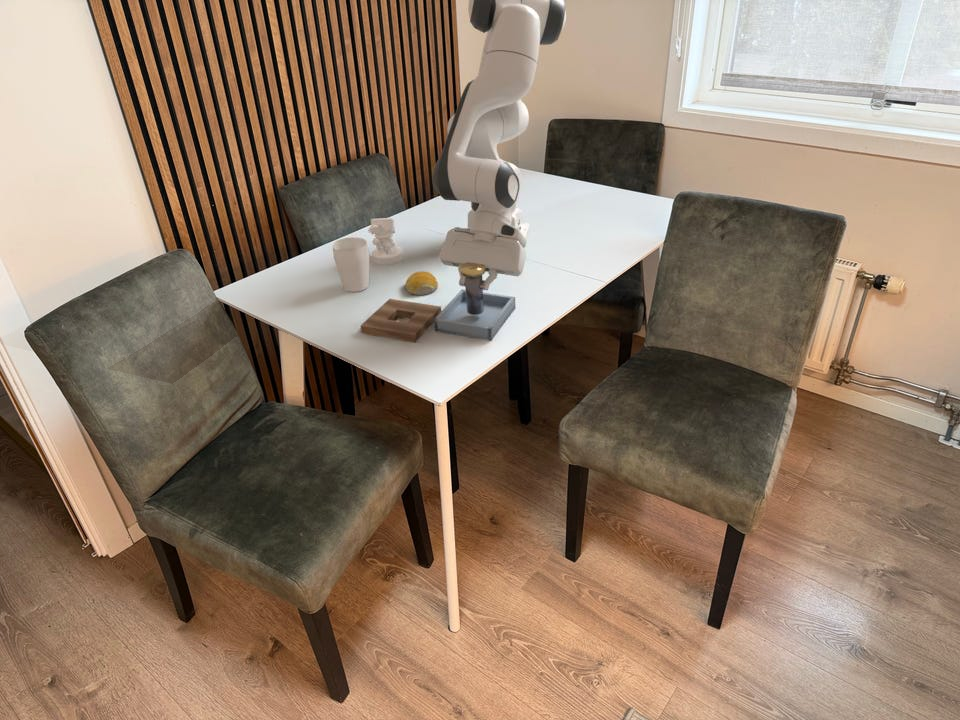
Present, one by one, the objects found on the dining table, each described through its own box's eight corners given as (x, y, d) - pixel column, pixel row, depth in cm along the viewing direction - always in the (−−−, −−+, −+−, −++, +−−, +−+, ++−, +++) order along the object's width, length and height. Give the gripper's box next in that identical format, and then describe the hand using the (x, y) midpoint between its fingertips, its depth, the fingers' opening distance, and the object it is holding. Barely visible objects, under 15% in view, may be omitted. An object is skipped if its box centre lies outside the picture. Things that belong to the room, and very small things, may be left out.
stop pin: (469, 303, 159) (466, 260, 153) (490, 306, 157) (488, 263, 151) (459, 314, 155) (456, 270, 149) (482, 317, 153) (479, 273, 147)
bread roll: (434, 278, 178) (433, 265, 176) (440, 293, 170) (439, 279, 168) (403, 283, 176) (401, 269, 174) (408, 298, 169) (406, 283, 167)
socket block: (390, 305, 165) (389, 298, 164) (441, 313, 161) (441, 306, 160) (361, 333, 155) (360, 325, 154) (415, 342, 150) (414, 334, 149)
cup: (336, 283, 178) (328, 240, 172) (369, 276, 180) (363, 234, 174) (342, 297, 171) (335, 253, 164) (377, 290, 173) (370, 247, 167)
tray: (462, 300, 166) (461, 289, 165) (515, 308, 161) (515, 297, 160) (434, 331, 154) (433, 319, 152) (491, 340, 149) (490, 328, 147)
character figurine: (370, 265, 187) (364, 224, 180) (375, 251, 195) (369, 211, 188) (401, 264, 186) (396, 223, 180) (405, 250, 194) (400, 210, 188)
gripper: (444, 220, 156) (427, 275, 154) (525, 231, 148) (509, 289, 146) (454, 231, 161) (438, 285, 159) (533, 242, 154) (517, 298, 152)
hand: (473, 287), depth 153 cm, fingers closed on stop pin, 4 cm apart
